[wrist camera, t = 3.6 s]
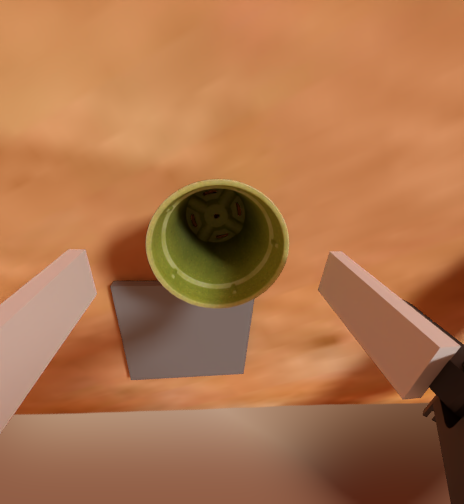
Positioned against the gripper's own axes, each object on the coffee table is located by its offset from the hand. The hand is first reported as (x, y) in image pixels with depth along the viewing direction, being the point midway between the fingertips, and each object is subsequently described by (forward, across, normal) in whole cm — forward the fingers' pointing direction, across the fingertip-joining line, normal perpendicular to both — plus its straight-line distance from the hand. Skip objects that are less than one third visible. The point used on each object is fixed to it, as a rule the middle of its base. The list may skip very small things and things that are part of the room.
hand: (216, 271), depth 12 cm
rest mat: (+11, +2, +16) cm, 20 cm away
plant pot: (+11, 0, 0) cm, 11 cm away
